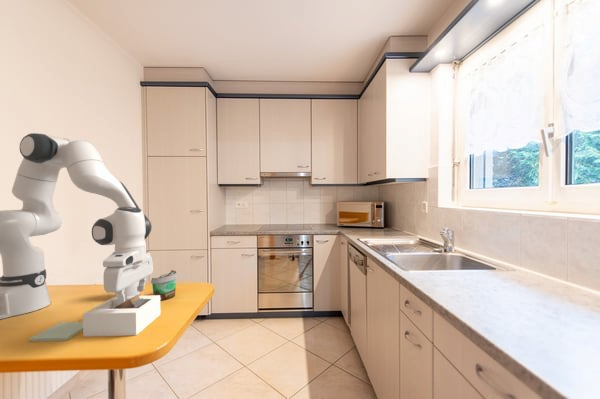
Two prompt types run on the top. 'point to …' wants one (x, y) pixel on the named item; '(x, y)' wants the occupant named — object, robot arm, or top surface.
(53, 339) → the sage pad
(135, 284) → the pill bottle
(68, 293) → the top surface
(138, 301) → the cradle
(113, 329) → the pocket jig
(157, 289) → the food container
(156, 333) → the top surface
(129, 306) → the walnut slab
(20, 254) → the robot arm
